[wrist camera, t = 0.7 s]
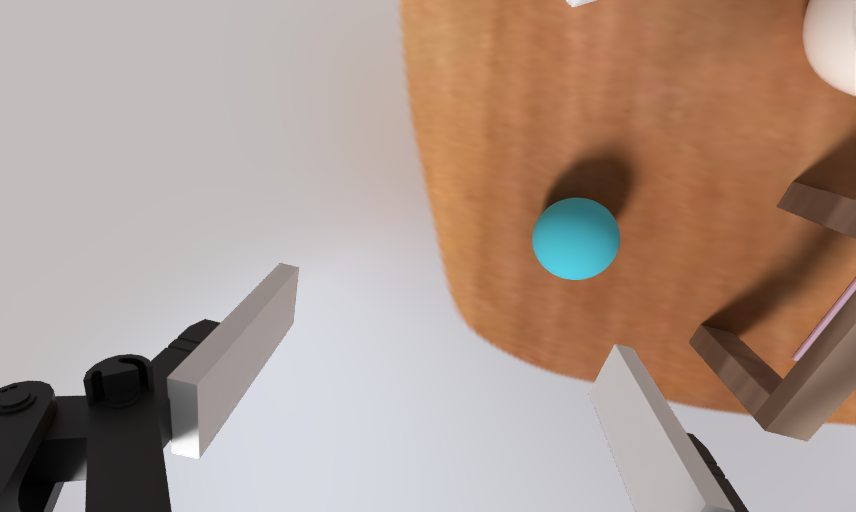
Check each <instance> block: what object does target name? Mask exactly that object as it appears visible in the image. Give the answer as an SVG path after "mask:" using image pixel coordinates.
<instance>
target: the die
mask: <svg viewBox="0 0 856 512" xmlns="http://www.w3.org/2000/svg"><path fill="white" fill-rule="evenodd" d="M566 1H567V2H568V3H569V4H570V5H571V6H572V7H576V6H579V5H583V4H586V3H589V2H592V1H596V0H566Z"/></svg>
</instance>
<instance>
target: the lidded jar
mask: <svg viewBox="0 0 856 512" xmlns="http://www.w3.org/2000/svg"><path fill="white" fill-rule="evenodd" d="M802 38H803V47H804V50H805V54H806V57H807V59H808V61H809V63H810V65H811V66H812V68H813V70H814V71H815V72H816V73H817V74H818V76H819V77H820V78H822V79H823V80H824V81H826V82H827V83H828V84H830V85H831V86H833V87H834V88H836V89H838V90H840V91H843V92H845V93H847V94H850V95H853V96H855V97H856V0H810V1H809V3H808V6H807V9H806V12H805V17H804V21H803V31H802Z"/></svg>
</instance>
